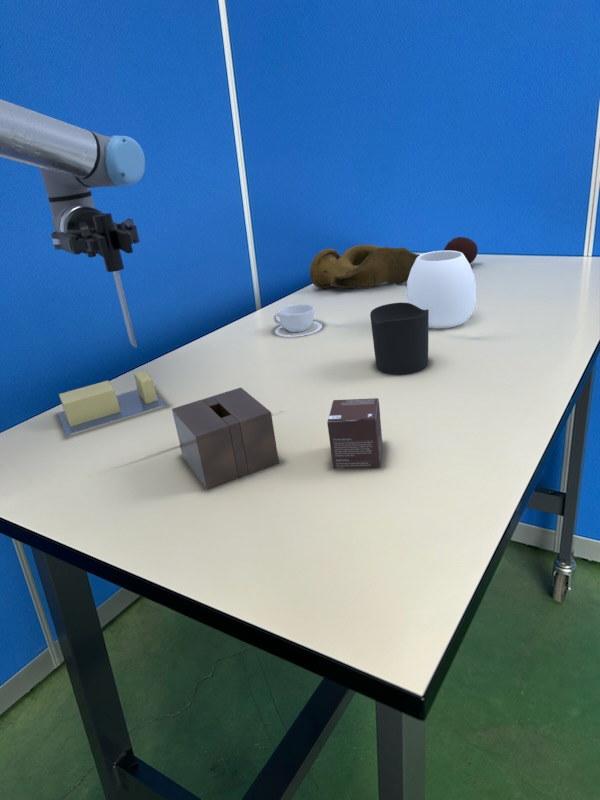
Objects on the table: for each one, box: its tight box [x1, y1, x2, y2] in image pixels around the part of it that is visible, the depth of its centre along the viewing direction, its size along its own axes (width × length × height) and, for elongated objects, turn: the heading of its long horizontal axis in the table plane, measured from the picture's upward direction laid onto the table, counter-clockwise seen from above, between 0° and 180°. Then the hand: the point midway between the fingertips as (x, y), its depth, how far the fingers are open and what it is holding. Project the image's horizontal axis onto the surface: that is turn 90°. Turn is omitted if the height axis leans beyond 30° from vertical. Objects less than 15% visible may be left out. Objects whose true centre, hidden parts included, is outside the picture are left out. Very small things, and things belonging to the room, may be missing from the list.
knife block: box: [171, 387, 280, 490], centre depth 82 cm, size 10×10×8 cm
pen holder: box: [369, 302, 430, 376], centre depth 104 cm, size 9×9×10 cm
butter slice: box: [133, 369, 158, 404], centre depth 104 cm, size 2×5×4 cm, turn 27°
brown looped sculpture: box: [309, 244, 420, 290], centre depth 151 cm, size 18×13×22 cm
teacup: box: [273, 303, 323, 338], centre depth 129 cm, size 10×10×5 cm
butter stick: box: [58, 380, 121, 427], centre depth 100 cm, size 8×5×4 cm, turn 117°
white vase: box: [406, 250, 477, 330], centre depth 121 cm, size 13×13×14 cm
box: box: [326, 397, 384, 470], centre depth 79 cm, size 6×6×7 cm
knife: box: [93, 212, 138, 348], centre depth 94 cm, size 3×3×20 cm
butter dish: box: [57, 389, 167, 436], centre depth 103 cm, size 16×10×1 cm, turn 117°
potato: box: [443, 236, 479, 265], centre depth 159 cm, size 8×9×8 cm
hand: (116, 245), depth 87 cm, fingers closed on knife, 3 cm apart
